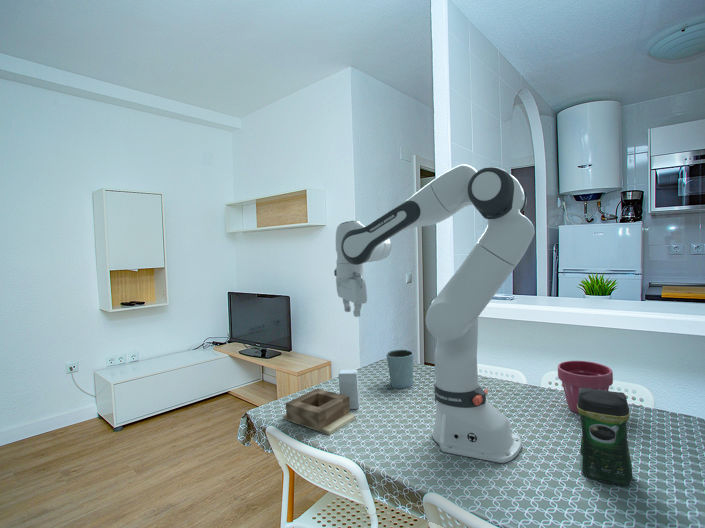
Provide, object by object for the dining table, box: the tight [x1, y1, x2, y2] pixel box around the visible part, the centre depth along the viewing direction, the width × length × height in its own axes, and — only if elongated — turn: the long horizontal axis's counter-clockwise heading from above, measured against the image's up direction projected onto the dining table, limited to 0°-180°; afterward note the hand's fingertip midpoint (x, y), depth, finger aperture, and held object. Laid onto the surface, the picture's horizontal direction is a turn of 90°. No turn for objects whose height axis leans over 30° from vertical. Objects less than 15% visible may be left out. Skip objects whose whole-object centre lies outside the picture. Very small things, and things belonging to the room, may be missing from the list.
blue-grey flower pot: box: [386, 349, 414, 389], centre depth 145 cm, size 10×10×12 cm
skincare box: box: [337, 369, 361, 410], centre depth 127 cm, size 6×4×12 cm
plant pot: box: [557, 360, 614, 414], centre depth 115 cm, size 14×14×13 cm
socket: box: [282, 388, 357, 436], centre depth 120 cm, size 20×14×6 cm
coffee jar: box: [577, 387, 633, 486], centre depth 83 cm, size 10×8×19 cm
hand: (352, 313), depth 125 cm, fingers open, 8 cm apart
